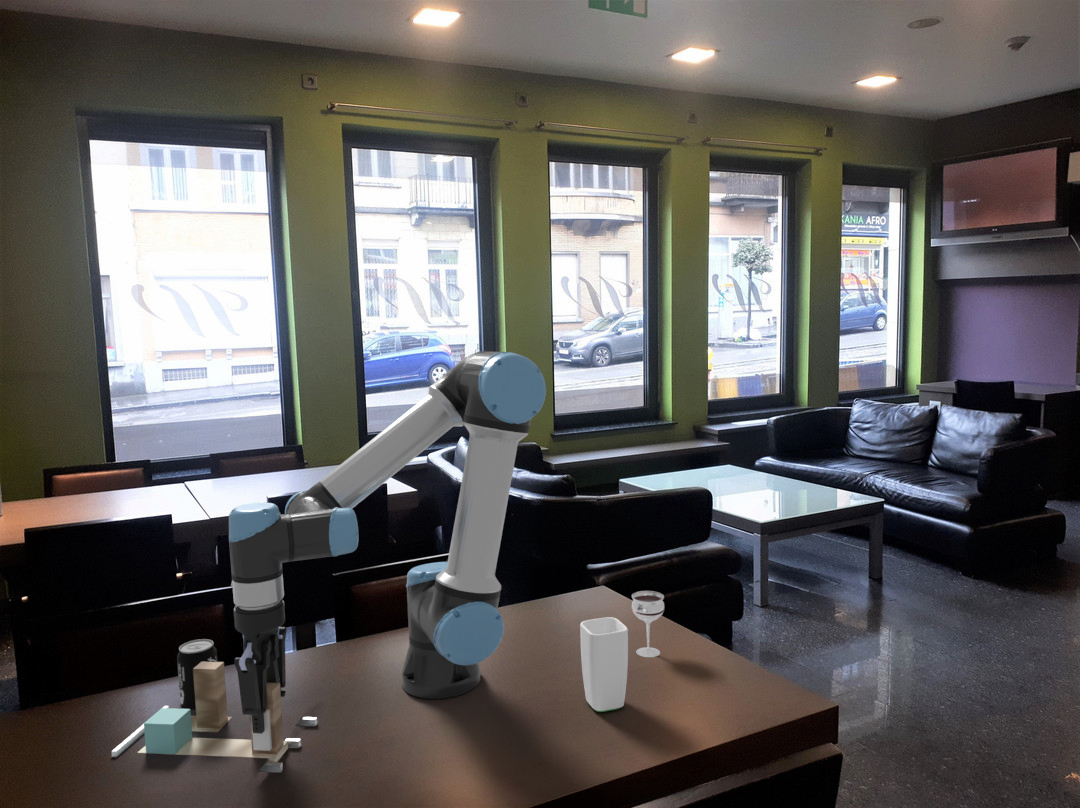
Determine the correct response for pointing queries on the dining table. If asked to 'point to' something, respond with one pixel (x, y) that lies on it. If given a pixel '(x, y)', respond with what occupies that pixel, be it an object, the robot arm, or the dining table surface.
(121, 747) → the lane rails
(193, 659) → the beverage can
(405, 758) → the dining table surface
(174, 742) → the cube
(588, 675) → the cup
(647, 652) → the wineglass
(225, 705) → the strip short
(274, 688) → the strip long
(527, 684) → the dining table surface
